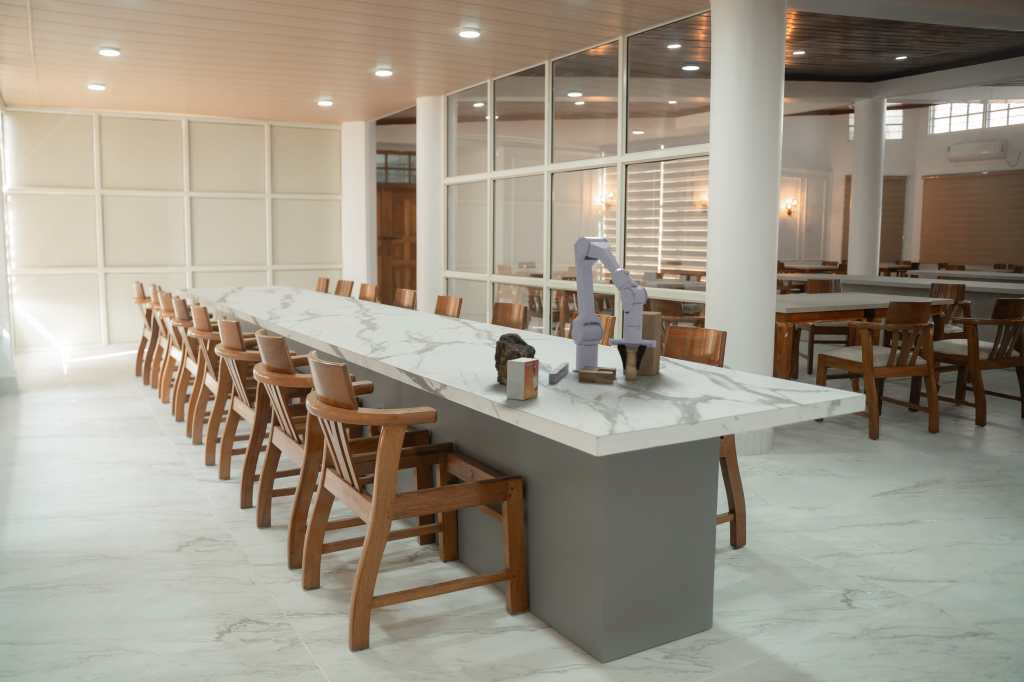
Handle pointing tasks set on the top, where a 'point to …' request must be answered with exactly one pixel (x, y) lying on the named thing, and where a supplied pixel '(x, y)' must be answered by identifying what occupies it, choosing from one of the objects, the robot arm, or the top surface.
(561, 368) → the rail
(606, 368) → the block
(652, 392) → the top surface
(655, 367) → the wooden block
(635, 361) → the dowel
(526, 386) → the small box
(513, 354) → the rock
